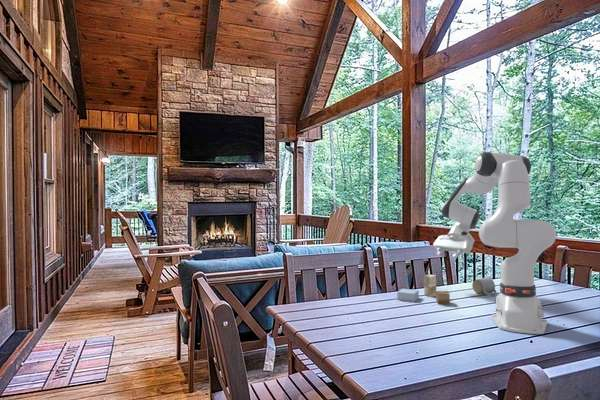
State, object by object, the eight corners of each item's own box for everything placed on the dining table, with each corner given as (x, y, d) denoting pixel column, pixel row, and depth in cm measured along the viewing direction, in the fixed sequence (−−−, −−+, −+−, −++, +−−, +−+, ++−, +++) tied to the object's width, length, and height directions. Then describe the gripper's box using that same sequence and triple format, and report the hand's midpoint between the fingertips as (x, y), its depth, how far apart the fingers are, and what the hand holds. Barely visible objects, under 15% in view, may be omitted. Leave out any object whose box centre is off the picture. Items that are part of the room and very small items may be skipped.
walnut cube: (449, 304, 169) (449, 293, 169) (438, 304, 170) (437, 293, 170) (447, 301, 174) (447, 291, 174) (436, 301, 175) (436, 290, 175)
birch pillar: (436, 295, 185) (435, 275, 185) (431, 297, 183) (430, 276, 183) (429, 294, 188) (429, 274, 189) (424, 295, 186) (423, 275, 186)
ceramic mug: (471, 292, 190) (470, 277, 190) (483, 290, 193) (483, 275, 193) (487, 297, 180) (487, 281, 180) (500, 295, 183) (500, 280, 183)
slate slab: (414, 302, 175) (414, 293, 175) (397, 300, 179) (397, 291, 179) (418, 298, 182) (418, 290, 182) (402, 296, 186) (402, 288, 186)
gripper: (437, 231, 205) (426, 250, 200) (472, 233, 188) (461, 255, 183) (442, 238, 208) (432, 258, 202) (477, 241, 191) (466, 263, 185)
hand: (446, 256), depth 192 cm, fingers open, 8 cm apart
